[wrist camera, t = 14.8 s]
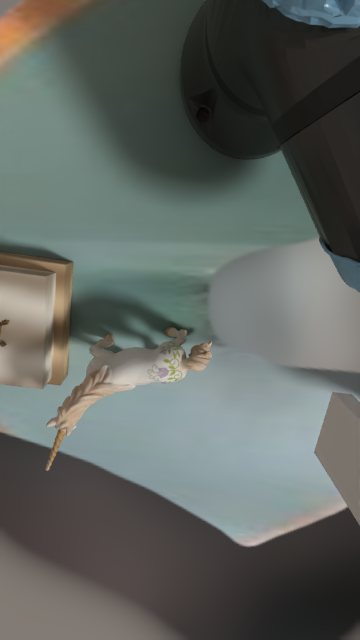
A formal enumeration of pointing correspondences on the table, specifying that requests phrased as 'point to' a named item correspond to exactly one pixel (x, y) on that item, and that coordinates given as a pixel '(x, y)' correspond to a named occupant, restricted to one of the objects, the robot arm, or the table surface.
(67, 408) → the unicorn figurine
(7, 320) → the game die
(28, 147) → the table surface
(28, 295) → the tower base
